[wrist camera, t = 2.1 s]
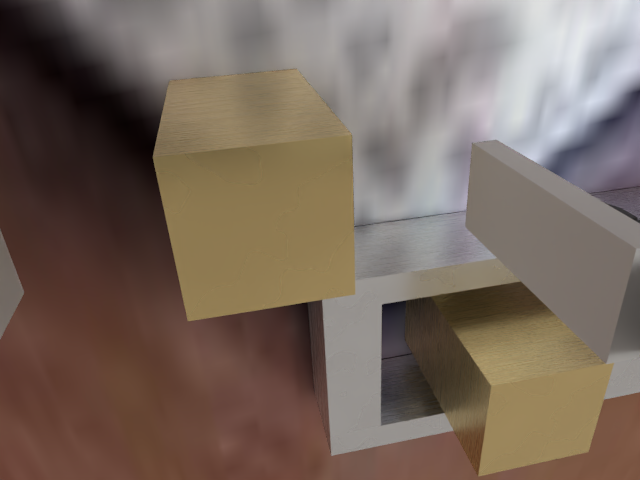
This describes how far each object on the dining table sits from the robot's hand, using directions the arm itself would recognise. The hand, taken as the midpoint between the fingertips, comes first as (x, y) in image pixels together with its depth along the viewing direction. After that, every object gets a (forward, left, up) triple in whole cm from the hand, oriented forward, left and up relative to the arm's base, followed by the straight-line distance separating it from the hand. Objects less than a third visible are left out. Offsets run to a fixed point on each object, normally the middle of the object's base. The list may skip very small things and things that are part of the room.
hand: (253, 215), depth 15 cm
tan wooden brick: (+9, +9, -6) cm, 14 cm away
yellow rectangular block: (0, 0, -6) cm, 6 cm away
